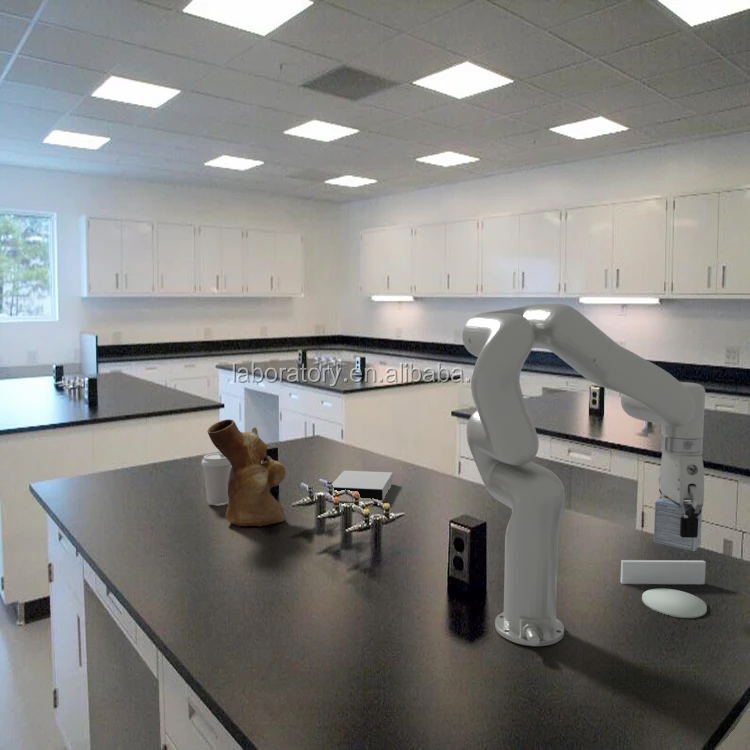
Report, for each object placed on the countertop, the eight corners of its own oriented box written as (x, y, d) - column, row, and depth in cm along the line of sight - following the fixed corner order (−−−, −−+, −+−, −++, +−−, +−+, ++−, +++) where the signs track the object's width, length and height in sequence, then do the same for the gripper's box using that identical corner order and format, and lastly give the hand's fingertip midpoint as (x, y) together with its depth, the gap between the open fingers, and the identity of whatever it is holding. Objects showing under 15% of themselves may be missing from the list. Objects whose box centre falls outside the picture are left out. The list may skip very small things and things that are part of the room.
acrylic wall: (704, 584, 140) (705, 562, 139) (622, 583, 140) (622, 561, 139) (702, 582, 141) (703, 560, 140) (620, 581, 141) (621, 560, 140)
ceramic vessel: (294, 523, 180) (293, 418, 177) (220, 538, 168) (217, 426, 165) (270, 508, 193) (269, 410, 190) (200, 522, 181) (197, 418, 178)
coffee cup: (229, 508, 194) (228, 459, 192) (198, 507, 194) (197, 459, 192) (237, 498, 203) (236, 452, 202) (207, 498, 203) (205, 452, 202)
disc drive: (327, 502, 200) (326, 487, 200) (343, 483, 223) (343, 469, 222) (382, 505, 197) (382, 490, 197) (393, 485, 219) (393, 471, 219)
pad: (718, 618, 124) (718, 615, 124) (656, 617, 124) (656, 615, 124) (689, 591, 136) (689, 588, 136) (632, 590, 136) (633, 588, 136)
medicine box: (701, 546, 128) (703, 504, 127) (694, 552, 125) (696, 509, 124) (660, 536, 133) (662, 496, 132) (652, 542, 130) (654, 501, 129)
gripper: (723, 454, 118) (718, 544, 120) (680, 435, 135) (676, 515, 137) (682, 454, 118) (678, 544, 120) (644, 435, 136) (641, 515, 137)
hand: (677, 528), depth 129 cm, fingers closed on medicine box, 8 cm apart
